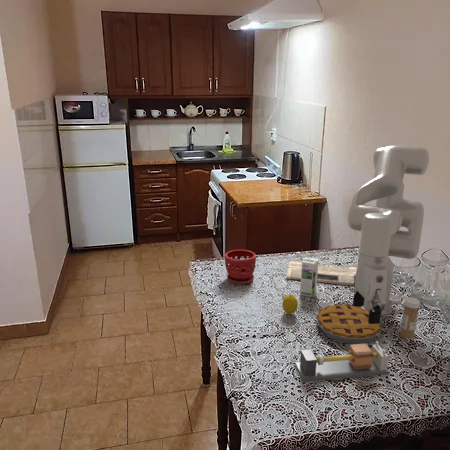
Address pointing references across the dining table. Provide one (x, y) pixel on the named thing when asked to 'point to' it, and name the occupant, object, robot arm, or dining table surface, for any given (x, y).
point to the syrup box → (309, 277)
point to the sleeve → (361, 356)
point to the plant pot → (240, 266)
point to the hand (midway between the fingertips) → (365, 314)
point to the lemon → (290, 304)
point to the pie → (347, 324)
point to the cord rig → (339, 366)
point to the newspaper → (325, 273)
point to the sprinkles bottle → (409, 317)
